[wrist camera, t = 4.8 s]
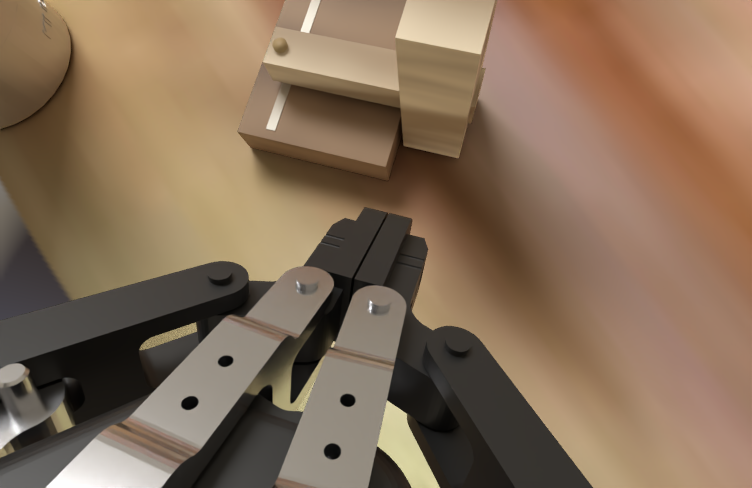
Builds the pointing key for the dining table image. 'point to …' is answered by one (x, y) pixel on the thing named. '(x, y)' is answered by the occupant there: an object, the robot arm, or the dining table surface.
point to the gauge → (401, 68)
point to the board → (328, 95)
